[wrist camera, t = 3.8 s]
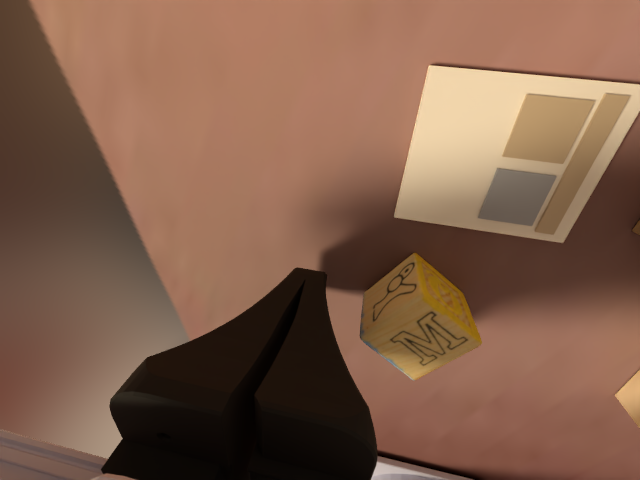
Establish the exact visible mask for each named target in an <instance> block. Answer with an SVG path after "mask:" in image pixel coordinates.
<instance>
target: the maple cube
mask: <svg viewBox="0 0 640 480" xmlns="http://www.w3.org/2000/svg"><path fill="white" fill-rule="evenodd" d="M632 231H633V232H635V233H636V234H638V235H640V220H639V221H638V223H637V224H636V226H635V227H634V228H633V230H632Z"/></svg>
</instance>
